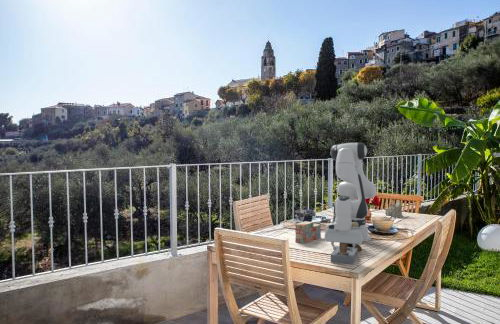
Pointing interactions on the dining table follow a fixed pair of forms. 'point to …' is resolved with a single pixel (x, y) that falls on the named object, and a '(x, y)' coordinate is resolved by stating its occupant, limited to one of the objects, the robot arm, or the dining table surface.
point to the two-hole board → (344, 256)
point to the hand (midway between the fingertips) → (343, 250)
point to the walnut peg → (343, 249)
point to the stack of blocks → (307, 232)
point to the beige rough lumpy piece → (356, 244)
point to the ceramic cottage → (394, 210)
